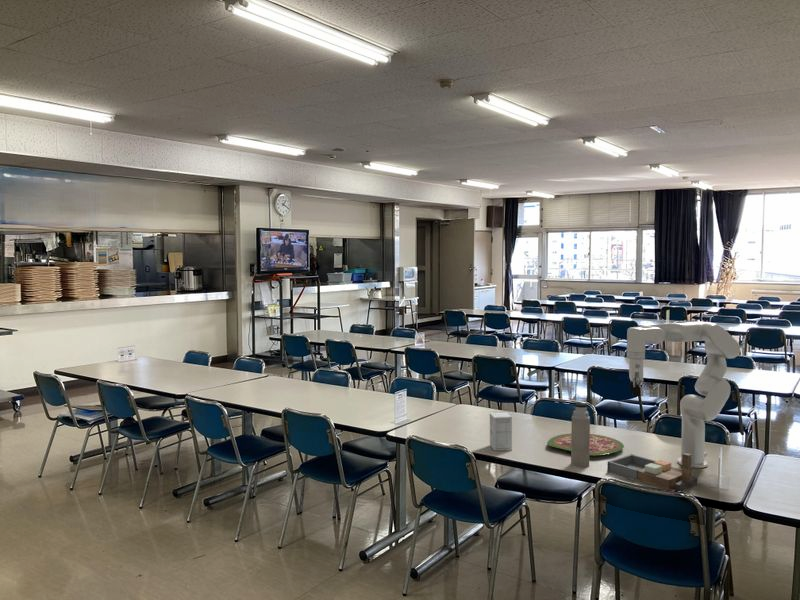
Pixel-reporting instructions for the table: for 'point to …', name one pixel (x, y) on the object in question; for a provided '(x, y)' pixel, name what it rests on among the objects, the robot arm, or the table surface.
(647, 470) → the sage tile
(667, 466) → the terracotta tile
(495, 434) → the supplement box
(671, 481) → the tan flat block
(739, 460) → the table surface
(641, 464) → the box
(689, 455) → the scraper
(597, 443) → the pizza
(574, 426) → the thermos bottle
